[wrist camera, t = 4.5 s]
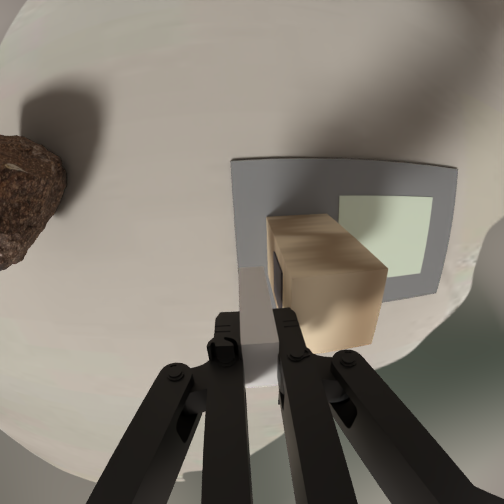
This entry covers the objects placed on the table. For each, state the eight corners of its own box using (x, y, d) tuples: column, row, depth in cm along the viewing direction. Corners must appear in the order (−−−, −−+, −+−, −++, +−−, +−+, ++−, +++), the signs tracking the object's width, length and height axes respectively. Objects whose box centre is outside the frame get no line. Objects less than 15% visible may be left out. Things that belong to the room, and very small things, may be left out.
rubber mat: (242, 315, 26) (242, 318, 25) (230, 160, 20) (230, 161, 20) (434, 291, 26) (436, 293, 26) (455, 168, 21) (458, 169, 20)
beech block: (266, 273, 23) (287, 357, 14) (264, 216, 21) (290, 278, 12) (324, 269, 24) (371, 344, 14) (327, 213, 22) (388, 268, 12)
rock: (-37, 164, 13) (-47, 98, 6) (45, 136, 20) (68, 71, 14) (-11, 286, 15) (-33, 269, 8) (76, 243, 22) (104, 207, 16)
